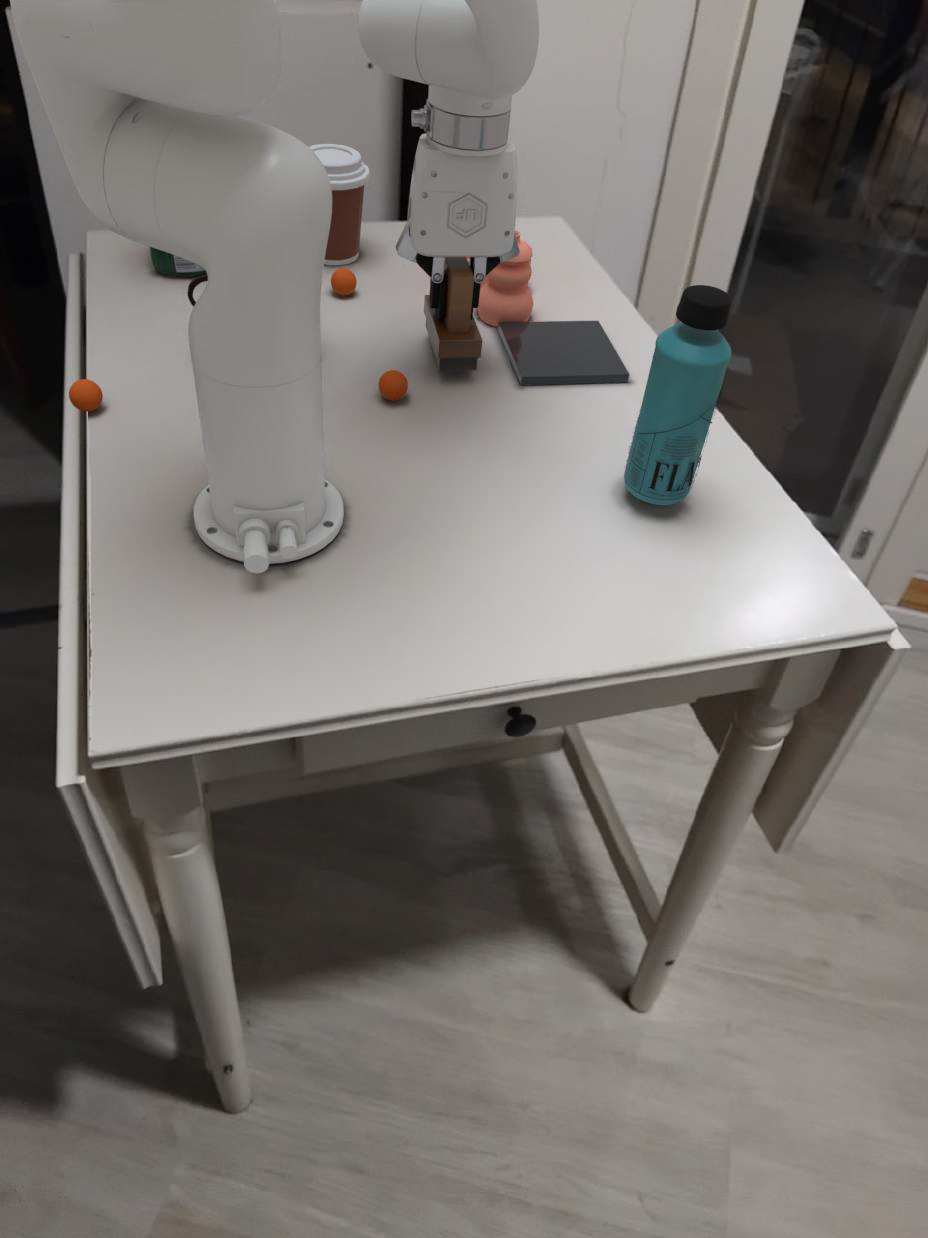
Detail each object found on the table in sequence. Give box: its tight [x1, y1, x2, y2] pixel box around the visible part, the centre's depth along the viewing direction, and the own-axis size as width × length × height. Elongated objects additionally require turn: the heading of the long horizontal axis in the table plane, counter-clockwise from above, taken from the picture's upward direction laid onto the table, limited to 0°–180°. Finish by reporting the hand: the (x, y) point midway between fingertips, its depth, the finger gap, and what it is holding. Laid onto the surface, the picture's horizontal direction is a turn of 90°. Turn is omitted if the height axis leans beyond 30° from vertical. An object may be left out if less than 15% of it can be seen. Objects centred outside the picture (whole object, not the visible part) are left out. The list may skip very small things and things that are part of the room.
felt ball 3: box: [377, 369, 409, 401], centre depth 96 cm, size 3×3×3 cm
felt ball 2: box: [330, 267, 358, 296], centre depth 111 cm, size 3×3×3 cm
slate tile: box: [497, 320, 631, 386], centre depth 105 cm, size 12×12×1 cm
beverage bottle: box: [623, 284, 732, 506], centre depth 81 cm, size 6×7×20 cm
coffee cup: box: [308, 143, 371, 266], centre depth 115 cm, size 9×9×12 cm
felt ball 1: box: [68, 378, 104, 413], centre depth 90 cm, size 3×3×3 cm
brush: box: [423, 257, 484, 372], centre depth 99 cm, size 10×4×10 cm, turn 10°
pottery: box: [466, 229, 534, 328], centre depth 111 cm, size 18×10×10 cm, turn 14°
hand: (453, 312), depth 99 cm, fingers closed on brush, 2 cm apart
